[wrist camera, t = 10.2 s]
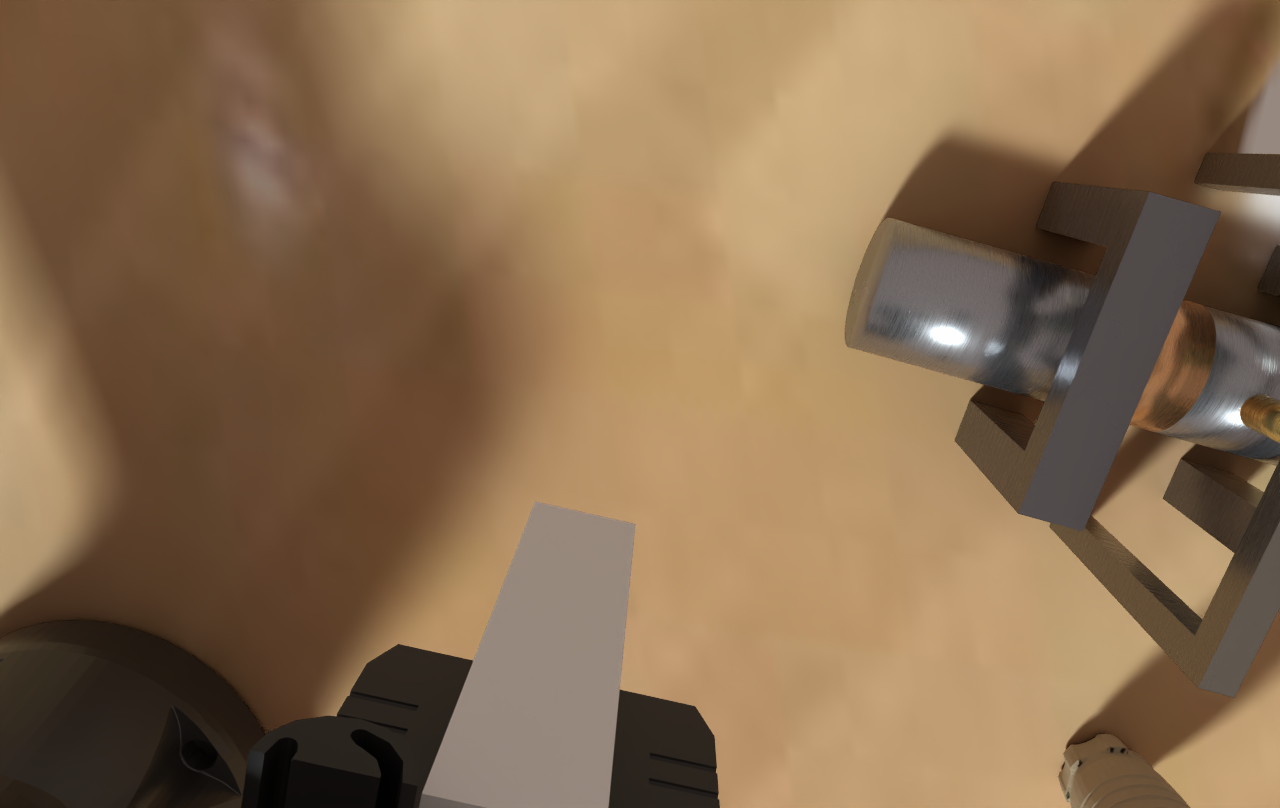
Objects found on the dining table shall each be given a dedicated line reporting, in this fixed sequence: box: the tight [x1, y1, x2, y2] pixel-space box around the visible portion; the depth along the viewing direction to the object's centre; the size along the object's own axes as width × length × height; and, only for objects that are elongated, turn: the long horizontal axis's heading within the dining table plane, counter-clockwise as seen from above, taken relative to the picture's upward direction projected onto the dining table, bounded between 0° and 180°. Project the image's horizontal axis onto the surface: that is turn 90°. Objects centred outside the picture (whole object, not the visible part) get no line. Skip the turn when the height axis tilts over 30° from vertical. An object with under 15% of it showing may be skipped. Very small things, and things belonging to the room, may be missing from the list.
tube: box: [845, 218, 1280, 466], centre depth 32 cm, size 18×4×4 cm, turn 75°
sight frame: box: [1050, 153, 1280, 697], centre depth 29 cm, size 1×14×11 cm, turn 165°
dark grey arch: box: [955, 182, 1221, 531], centre depth 30 cm, size 2×10×7 cm, turn 165°
